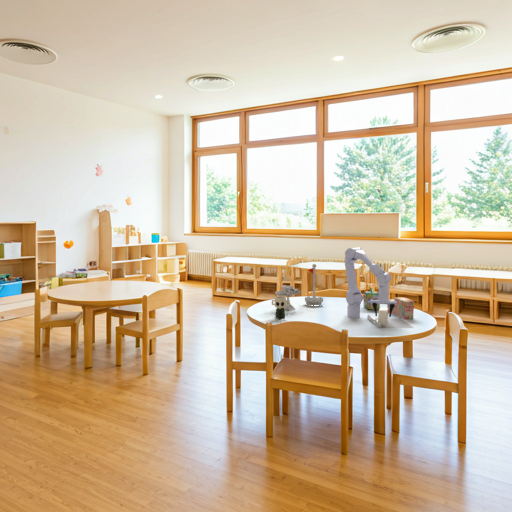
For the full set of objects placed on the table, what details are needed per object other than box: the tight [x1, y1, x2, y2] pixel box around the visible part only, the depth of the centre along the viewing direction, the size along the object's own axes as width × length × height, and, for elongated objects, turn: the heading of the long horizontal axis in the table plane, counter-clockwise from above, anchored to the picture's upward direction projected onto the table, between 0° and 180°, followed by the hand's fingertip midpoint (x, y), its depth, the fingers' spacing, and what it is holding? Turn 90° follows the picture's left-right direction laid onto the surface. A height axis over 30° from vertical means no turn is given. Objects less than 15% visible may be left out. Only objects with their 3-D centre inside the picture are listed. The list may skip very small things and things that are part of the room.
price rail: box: [366, 313, 382, 329], centre depth 239 cm, size 22×2×2 cm, turn 0°
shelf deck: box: [373, 317, 414, 329], centre depth 239 cm, size 22×20×1 cm
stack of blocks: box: [386, 297, 415, 320], centre depth 259 cm, size 21×6×12 cm, turn 10°
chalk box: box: [363, 286, 381, 310], centre depth 283 cm, size 9×9×15 cm
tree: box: [274, 284, 302, 311], centre depth 281 cm, size 18×16×17 cm
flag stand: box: [304, 263, 324, 307], centre depth 295 cm, size 13×13×30 cm
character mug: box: [271, 295, 290, 319], centre depth 256 cm, size 11×7×13 cm, turn 83°
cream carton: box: [377, 306, 389, 326], centre depth 239 cm, size 5×11×8 cm, turn 159°
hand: (383, 316), depth 239 cm, fingers open, 7 cm apart
